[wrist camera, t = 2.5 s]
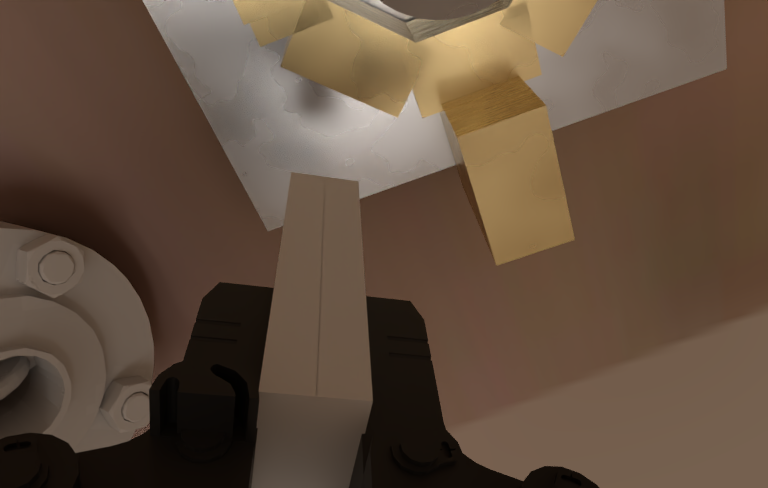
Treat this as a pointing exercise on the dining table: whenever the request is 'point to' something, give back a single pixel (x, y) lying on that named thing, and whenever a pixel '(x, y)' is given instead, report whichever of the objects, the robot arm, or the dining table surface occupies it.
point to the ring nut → (450, 94)
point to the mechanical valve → (70, 343)
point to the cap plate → (410, 131)
